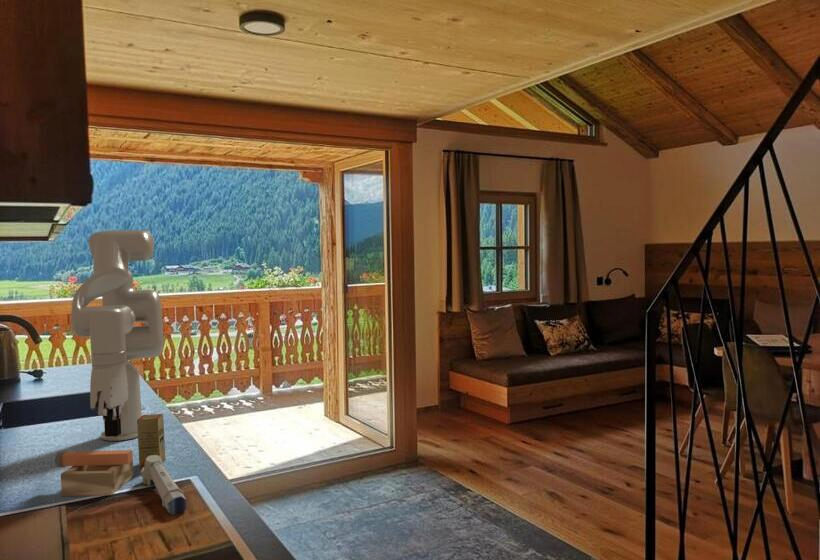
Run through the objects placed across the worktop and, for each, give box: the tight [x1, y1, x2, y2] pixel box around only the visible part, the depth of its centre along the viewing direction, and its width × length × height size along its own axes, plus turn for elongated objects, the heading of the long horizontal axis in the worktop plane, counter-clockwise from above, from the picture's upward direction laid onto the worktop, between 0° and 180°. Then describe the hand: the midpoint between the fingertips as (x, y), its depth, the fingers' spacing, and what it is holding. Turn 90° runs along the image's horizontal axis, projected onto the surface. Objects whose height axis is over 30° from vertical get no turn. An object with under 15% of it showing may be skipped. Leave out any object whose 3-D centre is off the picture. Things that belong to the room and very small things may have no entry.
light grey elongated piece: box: [140, 455, 188, 516], centre depth 137 cm, size 5×7×25 cm
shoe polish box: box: [137, 413, 166, 468], centre depth 157 cm, size 5×5×12 cm
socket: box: [60, 460, 135, 497], centre depth 143 cm, size 11×11×5 cm
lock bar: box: [54, 449, 134, 468], centre depth 143 cm, size 4×16×4 cm, turn 90°
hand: (113, 435), depth 150 cm, fingers closed
